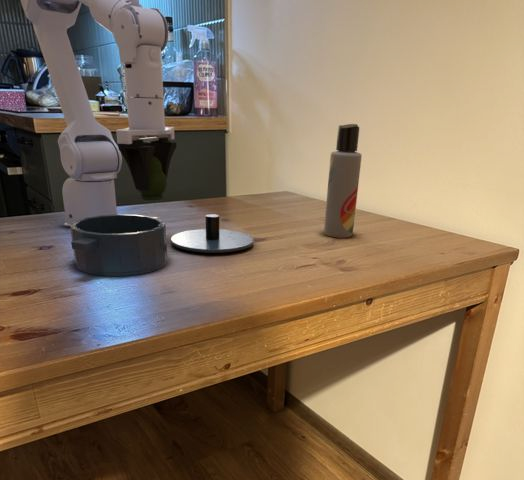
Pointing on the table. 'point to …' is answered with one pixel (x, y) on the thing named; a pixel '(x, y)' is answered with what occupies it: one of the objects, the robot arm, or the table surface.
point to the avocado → (155, 182)
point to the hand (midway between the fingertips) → (151, 187)
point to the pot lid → (212, 238)
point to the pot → (119, 244)
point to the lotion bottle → (343, 183)
